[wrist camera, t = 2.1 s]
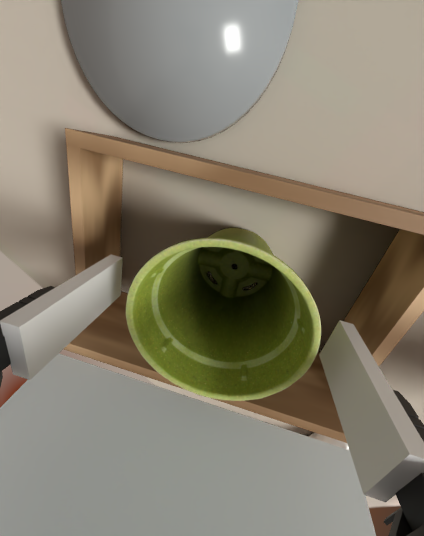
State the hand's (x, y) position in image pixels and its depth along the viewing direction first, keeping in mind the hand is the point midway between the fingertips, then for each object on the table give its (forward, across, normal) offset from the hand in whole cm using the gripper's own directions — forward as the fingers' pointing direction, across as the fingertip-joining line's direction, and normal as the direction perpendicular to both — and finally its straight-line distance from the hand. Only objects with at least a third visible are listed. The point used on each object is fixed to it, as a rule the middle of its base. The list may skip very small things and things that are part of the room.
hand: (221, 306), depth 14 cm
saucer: (+6, -7, +14) cm, 17 cm away
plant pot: (+6, 0, 0) cm, 6 cm away
